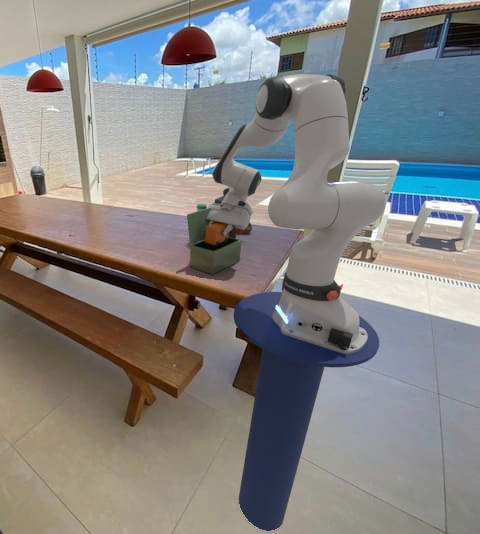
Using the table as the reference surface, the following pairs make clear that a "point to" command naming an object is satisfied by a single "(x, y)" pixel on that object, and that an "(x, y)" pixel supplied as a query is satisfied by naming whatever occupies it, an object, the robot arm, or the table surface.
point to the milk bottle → (199, 208)
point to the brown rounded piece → (245, 229)
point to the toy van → (216, 234)
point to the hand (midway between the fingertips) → (216, 233)
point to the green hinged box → (215, 255)
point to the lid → (197, 225)
